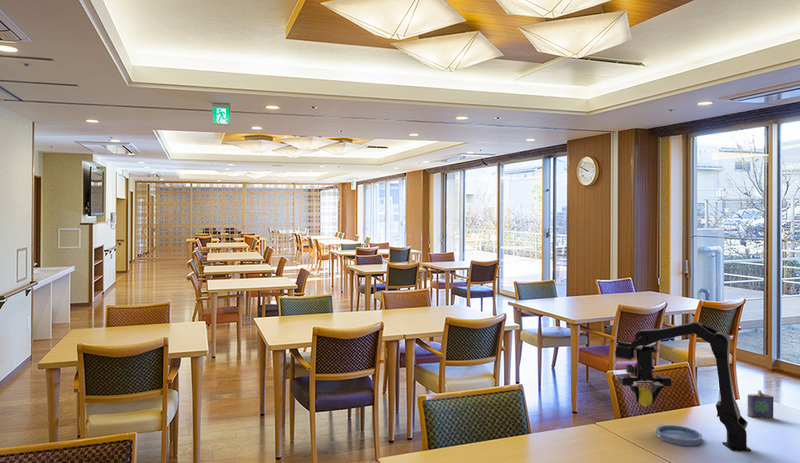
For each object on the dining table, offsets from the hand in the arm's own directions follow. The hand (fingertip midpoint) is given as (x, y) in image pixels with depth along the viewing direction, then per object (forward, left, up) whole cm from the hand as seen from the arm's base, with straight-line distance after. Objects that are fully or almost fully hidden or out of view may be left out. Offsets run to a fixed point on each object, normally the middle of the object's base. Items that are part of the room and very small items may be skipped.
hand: (644, 402), depth 203 cm
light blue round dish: (-10, -8, -10) cm, 16 cm away
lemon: (0, 0, -2) cm, 2 cm away
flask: (+14, -52, -10) cm, 55 cm away
